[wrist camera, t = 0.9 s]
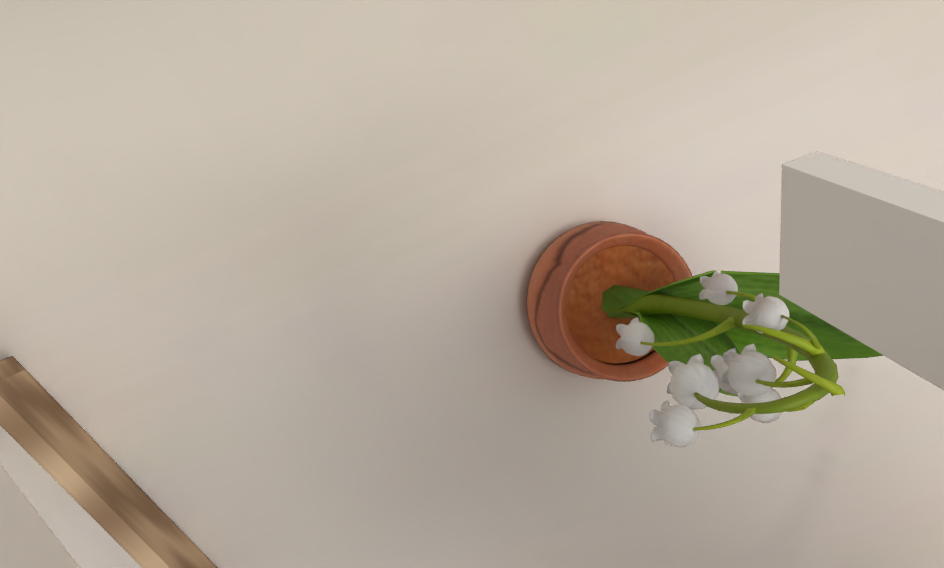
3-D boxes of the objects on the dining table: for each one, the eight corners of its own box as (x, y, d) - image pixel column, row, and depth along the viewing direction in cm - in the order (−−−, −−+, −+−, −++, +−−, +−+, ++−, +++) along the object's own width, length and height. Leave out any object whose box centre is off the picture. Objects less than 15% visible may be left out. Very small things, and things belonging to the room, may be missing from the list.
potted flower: (522, 406, 45) (747, 624, 20) (471, 263, 43) (647, 312, 19) (681, 339, 46) (1064, 465, 22) (637, 200, 45) (995, 170, 21)
